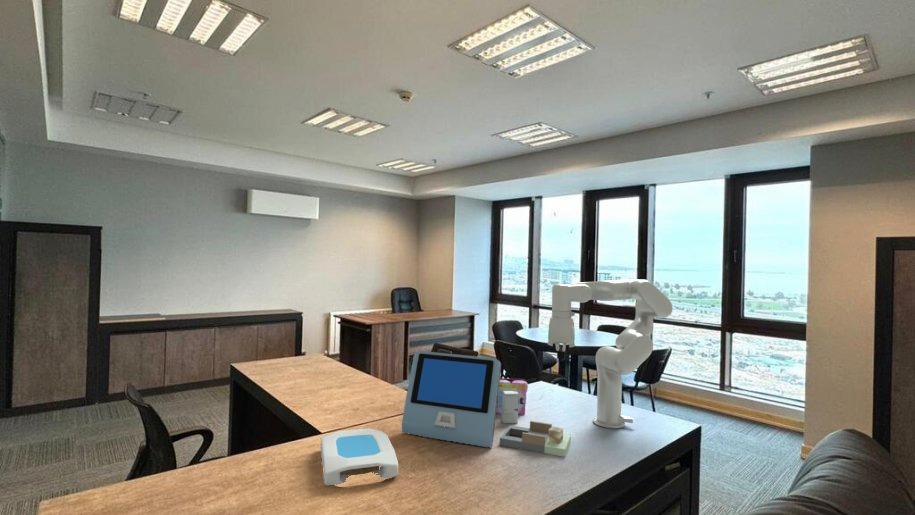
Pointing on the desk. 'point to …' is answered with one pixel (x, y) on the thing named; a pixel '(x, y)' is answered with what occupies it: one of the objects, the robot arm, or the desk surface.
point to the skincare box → (510, 407)
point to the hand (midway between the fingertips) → (561, 360)
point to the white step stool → (357, 454)
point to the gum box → (513, 385)
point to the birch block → (555, 435)
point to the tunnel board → (534, 439)
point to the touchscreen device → (452, 398)
